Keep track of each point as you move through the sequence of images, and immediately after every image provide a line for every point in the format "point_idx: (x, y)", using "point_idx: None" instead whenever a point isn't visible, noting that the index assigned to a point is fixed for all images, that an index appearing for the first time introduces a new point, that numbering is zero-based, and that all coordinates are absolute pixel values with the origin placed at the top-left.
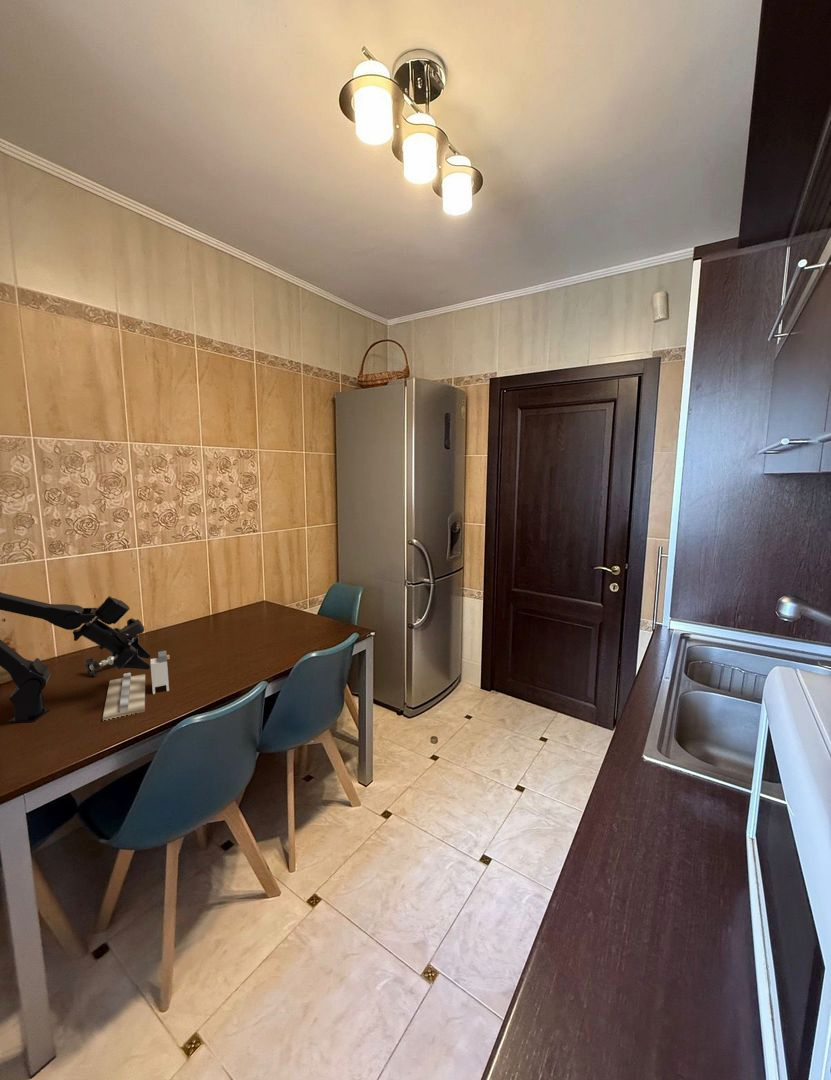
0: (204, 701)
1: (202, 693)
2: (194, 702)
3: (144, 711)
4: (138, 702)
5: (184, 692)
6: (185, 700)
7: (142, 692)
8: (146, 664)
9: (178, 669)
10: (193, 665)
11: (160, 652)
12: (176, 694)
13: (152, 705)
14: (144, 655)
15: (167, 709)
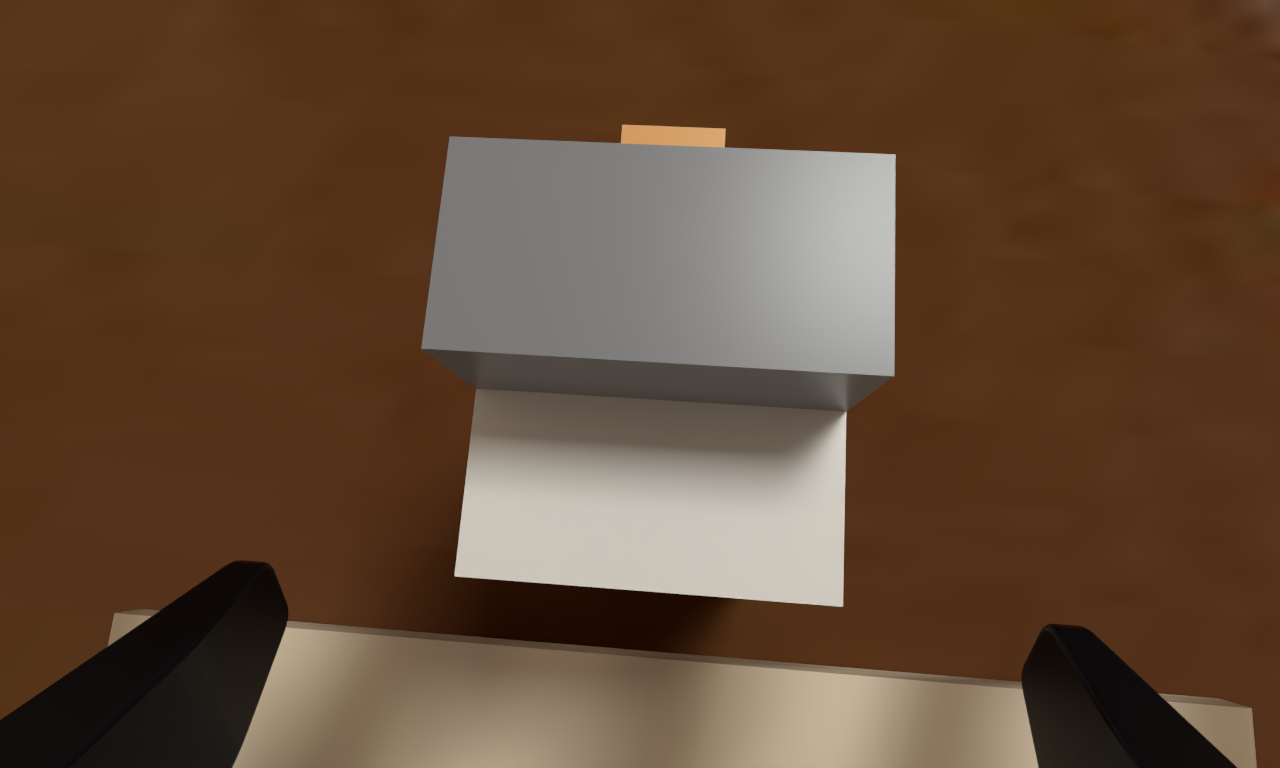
0: (1246, 90)
1: (1028, 83)
2: (1222, 181)
3: (1221, 701)
4: (1024, 765)
5: (898, 243)
6: (1122, 257)
7: (726, 693)
8: (1215, 763)
9: (187, 233)
10: (183, 76)
11: (522, 292)
12: (907, 326)
13: (1077, 599)
14: (210, 724)
15: (1271, 454)
